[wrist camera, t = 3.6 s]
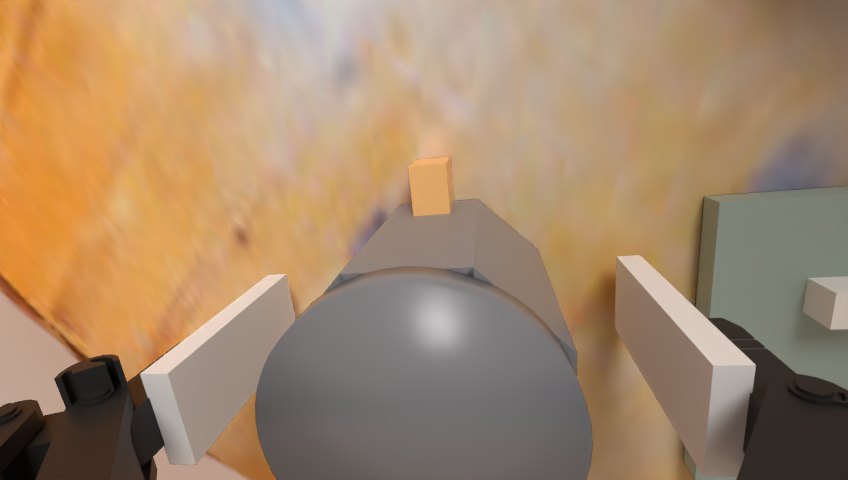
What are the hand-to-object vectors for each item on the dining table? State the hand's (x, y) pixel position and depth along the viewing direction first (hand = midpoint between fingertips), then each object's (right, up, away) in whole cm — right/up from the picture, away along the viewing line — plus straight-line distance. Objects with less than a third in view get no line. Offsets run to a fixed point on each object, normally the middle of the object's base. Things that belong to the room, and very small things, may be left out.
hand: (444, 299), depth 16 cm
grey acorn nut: (0, 0, +1) cm, 1 cm away
